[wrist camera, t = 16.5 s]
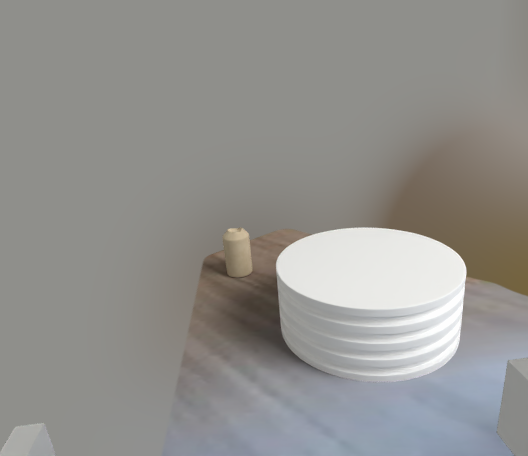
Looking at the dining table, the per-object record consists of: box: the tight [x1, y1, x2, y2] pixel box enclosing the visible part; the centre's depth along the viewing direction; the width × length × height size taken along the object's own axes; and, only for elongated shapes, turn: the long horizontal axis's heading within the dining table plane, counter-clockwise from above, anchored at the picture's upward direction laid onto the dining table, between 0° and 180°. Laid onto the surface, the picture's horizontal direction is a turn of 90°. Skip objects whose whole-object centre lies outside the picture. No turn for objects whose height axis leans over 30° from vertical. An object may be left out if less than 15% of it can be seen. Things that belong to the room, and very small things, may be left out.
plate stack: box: [276, 228, 466, 382], centre depth 66 cm, size 28×28×12 cm
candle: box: [223, 228, 252, 278], centre depth 87 cm, size 6×6×10 cm
